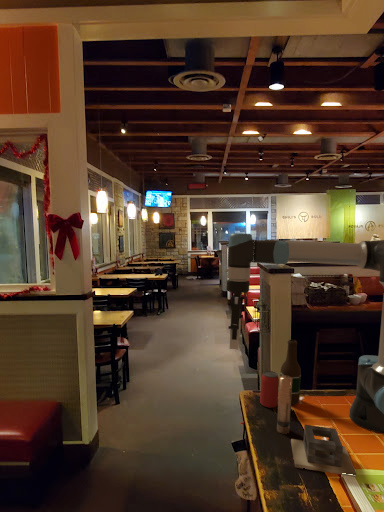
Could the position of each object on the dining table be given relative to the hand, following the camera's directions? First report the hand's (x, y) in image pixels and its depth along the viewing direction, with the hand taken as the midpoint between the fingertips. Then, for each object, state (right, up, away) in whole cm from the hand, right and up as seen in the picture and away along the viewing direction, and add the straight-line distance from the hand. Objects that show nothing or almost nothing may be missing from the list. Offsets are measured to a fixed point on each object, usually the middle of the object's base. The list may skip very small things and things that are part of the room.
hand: (235, 342), depth 117 cm
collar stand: (+23, -30, -15) cm, 41 cm away
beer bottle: (+24, -28, +19) cm, 41 cm away
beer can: (+15, -28, +16) cm, 35 cm away
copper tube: (+16, -29, -2) cm, 33 cm away
